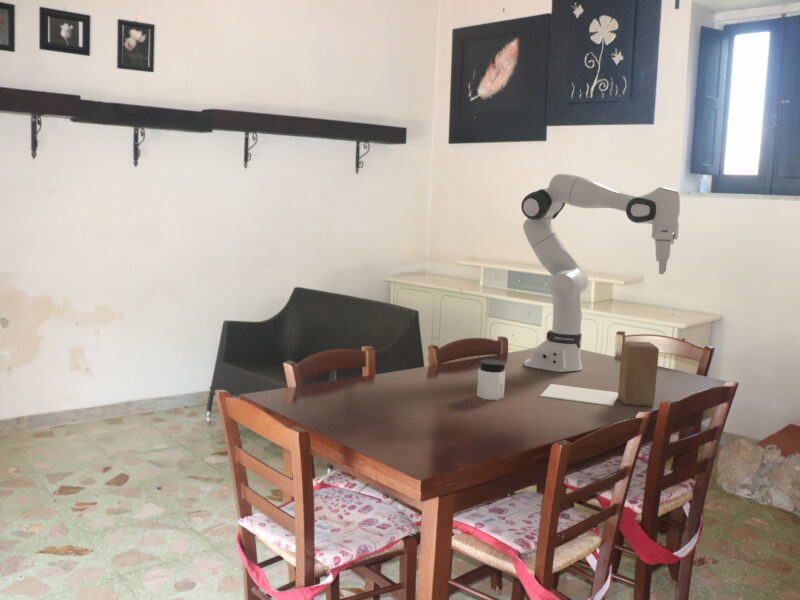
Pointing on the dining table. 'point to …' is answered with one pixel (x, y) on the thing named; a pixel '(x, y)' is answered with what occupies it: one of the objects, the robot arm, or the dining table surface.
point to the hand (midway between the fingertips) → (662, 272)
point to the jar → (491, 379)
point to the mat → (580, 395)
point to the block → (638, 373)
